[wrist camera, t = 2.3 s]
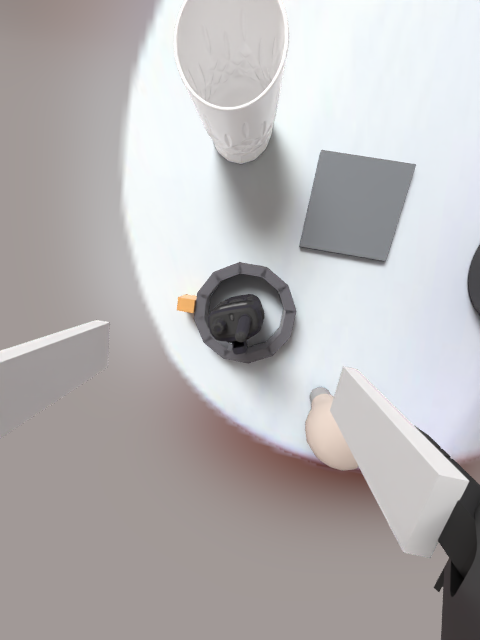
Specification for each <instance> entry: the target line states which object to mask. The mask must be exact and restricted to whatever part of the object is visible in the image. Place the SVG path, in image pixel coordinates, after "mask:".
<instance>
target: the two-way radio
mask: <svg viewBox="0 0 480 640" xmlns="http://www.w3.org/2000/svg"><path fill="white" fill-rule="evenodd" d="M263 319H264V310H263V308H262V305H261V302H260V300H259V298H258V297H257V296H255V295H253V294H248V295H241V296H236V297H231V298H228V299H226V300H224V301H223V302H221V303H220V304H219V305H218V306H217V307H216V308H215V309H213V310H212V311H211V312H210V314H209V316H208V328H209V330H210V333H211V334H212V336H213V337H214V339H215V340H218V341H225V342H229V343H232V346H233V348H232V350H233V353H234V354H236V355H237V354H243V353H245V352H246V351H247V339H249V338H250V337H252V336H254V335H255V334H257V333H258V332H260V330H261V327H262V323H263Z"/></svg>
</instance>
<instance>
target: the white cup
mask: <svg viewBox="0 0 480 640" xmlns="http://www.w3.org/2000/svg"><path fill="white" fill-rule="evenodd" d="M288 44H289V27H288V19H287V15H286V11H285V8H284V5H283V2H282V0H185V1H184V3H183V5H182V7H181V9H180V12H179V15H178V18H177V22H176V26H175V33H174V53H175V60H176V64H177V68H178V71H179V74H180V76H181V79H182V81H183V83H184V85H185V87H186V89H187V91H188V93H189V95H190V97H191V100H192V102H193V104H194V106H195V108H196V110H197V112H198V114H199V116H200V119H201V121H202V123H203V125H204V127H205V129H206V131H207V133H208V135H209V136H210V137H211V139H212V140H213V142H214V145H215V147H216V149H217V151H218V153H220V154H221V155H222V156H223V157H224V158H226V159H227V160H228V161H230V162H235V163H240V164H243V163H246V162H249V161H253V160H255V159H256V158H257V157H258V156H259V155H260V154H261V153H262V152H263V151H264V150H265V149H266V147H267V145H268V142H269V140H270V137H271V135H272V129H273V124H274V121H275V117H276V112H277V107H278V102H279V97H280V91H281V85H282V79H283V74H284V68H285V62H286V57H287V51H288Z"/></svg>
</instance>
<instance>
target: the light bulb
mask: <svg viewBox="0 0 480 640" xmlns="http://www.w3.org/2000/svg"><path fill="white" fill-rule="evenodd" d="M333 398H334V397H333V396H332V395H331V394H330V392H329V391H328V390H327V389H325V388H322V387H318V388H315V389H313V390H312V392H311V393H310V400H311V411H310V412H309V414H308V417H307V419H306V422H305V431H306V439H307V442H308V444H309V446H310V448H311V449H312V451H313V452H314V454H315V456H316V457H317V458H318V459H319V460H321V461H322V462H323V463H325V464H326V465H328V466H329V467H332V468H335V469H339V470H342V471H343V470H353V469H356V468H357V467H359V466H358V464H357V462H356V460H355V458H354V456H353V454H352V452H351V450H350V448H349V447H348V445H347V443H346V441H345V439H344V437H343V435H342V433H341V431H340V429H339V427H338V425H337V423H336V421H335V419H334V418H333V416H332V414H331V412H330V408H331V405H332V402H333Z"/></svg>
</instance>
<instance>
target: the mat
mask: <svg viewBox="0 0 480 640" xmlns="http://www.w3.org/2000/svg"><path fill="white" fill-rule="evenodd" d="M415 166H416V164H410V163H404V162H397V161H391V160H384V159H378V158H371V157H365V156H358V155H351V154H345V153H338V152H332V151H325V150H321V152H320V156H319V160H318V165H317V169H316V174H315V178H314V183H313V187H312V192H311V196H310V201H309V205H308V210H307V214H306V219H305V223H304V228H303V232H302V237H301V241H300V246H299V247H305V248H310V249H316V250H322V251H328V252H334V253H340V254H345V255H351V256H357V257H363V258H369V259H374V260H380V261H386V259H387V256H388V253H389V250H390V246H391V243H392V240H393V237H394V234H395V230H396V227H397V224H398V221H399V218H400V214H401V211H402V208H403V205H404V202H405V198H406V195H407V192H408V189H409V186H410V182H411V179H412V176H413V173H414V170H415Z"/></svg>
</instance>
